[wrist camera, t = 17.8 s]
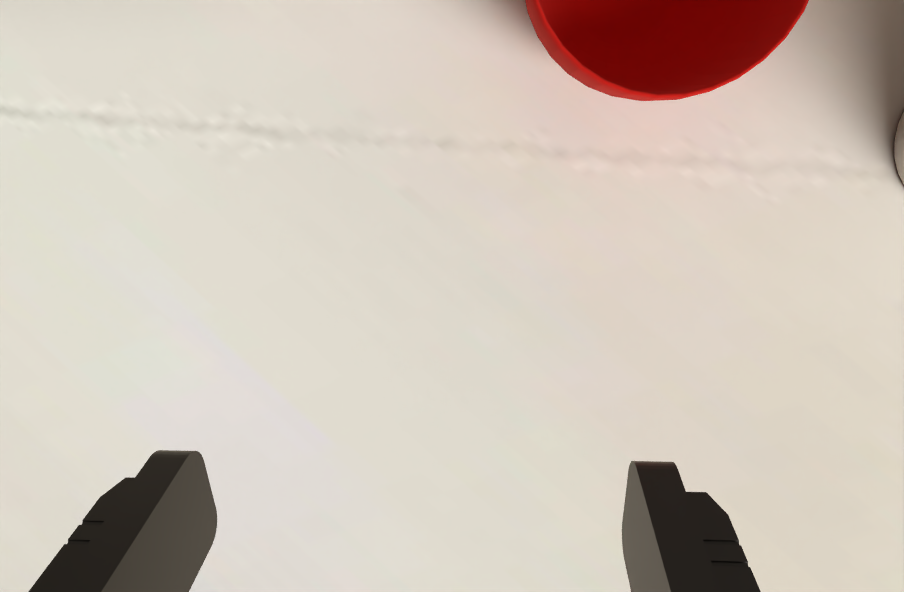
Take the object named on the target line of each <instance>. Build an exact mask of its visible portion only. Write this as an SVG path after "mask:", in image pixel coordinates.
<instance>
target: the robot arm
mask: <svg viewBox="0 0 904 592" xmlns="http://www.w3.org/2000/svg"><path fill="white" fill-rule="evenodd" d="M895 162H896V166H897V171H898V174H899V176H900V178H901V180H902V182H903V184H904V112H903V114H902V116H901V119H900V121H899V123H898V127H897V132H896V137H895ZM216 528H217V511H216V507H215V503H214V499H213V495H212V491H211V487H210V483H209V479H208V475H207V471H206V467H205V463H204V460H203V457H202V455H201V454H200V453H199V452H198V451H166V450H159V451H156V452H154V453H153V454H152V455H151V456H150V458H149V459H148V461H147V462H146V463H145V465H144V466H143V468H142V469H141V470H140V472H139V473H138V474H137V476H136V477H135V478H125V479H123V480H122V481H121V482H119V483H118V484H117V485H115V486H114V487H113V488H112V489H110V490H109V491H108V492H106V493H105V494H104V495H102V496H101V497H100V498H99V499H98V501H97V502H96V503H95V505H94V506H93V507H92V509H91V510H90V511H89V513H88V514H87V515H86V516H85V518H84V519H83V523H82V525H79V526H78V527H77V528H76V530H75V531H74V532H73V534H72V535H71V536H70V538H69V539H68V544H64V546H63V547H62V548H61V550H60V551H59V552H58V553H57V555H56V556H55V557H54V559H53V560H52V561H51V563H50V564H49V565H48V567H47V568H46V569H45V571H44V572H43V573H42V575H41V576H40V577H39V579H38V580H37V581H36V583H35V584H34V585H33V587H32V588H31V589H30V590H29V592H189V590H190V588H191V586H192V584H193V582H194V580H195V578H196V576H197V574H198V572H199V570H200V568H201V566H202V564H203V562H204V560H205V558H206V556H207V554H208V552H209V550H210V548H211V546H212V544H213V541H214V538H215V533H216ZM622 544H623V554H624V560H625V564H626V569H627V574H628V578H629V583H630V588H631V592H760V589H759V587H758V585H757V582H756V580H755V578H754V575H753V573H752V571H751V568H750V567H748V561H747V559H746V556H745V554H744V552H743V549H742V547H741V546H739V540H738V537H737V535H736V533H735V530H734V528H733V526H732V523H731V521H730V519H729V516H728V514H727V513H726V512H725V511H724V510H723V509H722V508H721V507H720V506H719V505H718V504H717V503H716V502H715V501H714V500H713V499H712V498H711V497H710V496H709V495H708V494H707V493H706V492H686V491H685V488H684V485H683V483H682V480H681V477H680V474H679V472H678V469H677V467H676V465H675V463H674V462H650V461H631V463H630V466H629V471H628V480H627V488H626V497H625V505H624V513H623V522H622Z"/></svg>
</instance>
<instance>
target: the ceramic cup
mask: <svg viewBox="0 0 904 592" xmlns="http://www.w3.org/2000/svg"><path fill="white" fill-rule="evenodd" d="M525 1H526V6H527V11H528V14H529V17H530V19H531V21H532V24H533V26H534V29H535V31H536V34H537V36H538V38H539V39H540V41H541V42H542V44H543V45H544V47H545V48H546V50H547V51H548V53H549V54H550V56H551V57H552V58H553V59H554V60H555V61H556V62H557V63H558V64H559V65H560V66H561V67H562V68H563V69H564V70H565V71H566V72H567V73H568V74H569V75H571V76H572V77H574V78H575V79H577V80H578V81H580V82H581V83H583V84H584V85H586V86H587V87H590V88H592V89H595V90H597V91H600V92H603V93H605V94H608V95H610V96H615V97H621V98H627V99H633V100H639V101H654V100H677V99H682V98H686V97H690V96H694V95H698V94H702V93H706V92H710V91H712V90H714V89H716V88H719V87H721V86H723V85H725V84H727V83H729V82H731V81H734V80H736V79H738V78H739V77H741V76H742V75H743V74H745V73H746V72H748V71H749V70H751V69H752V68H753V67H755V66H756V65H758V64H759V63H760V62H762V61H763V60H764V59H765V58H766V57H767V56H768V55H769V54H770V53H771V52H772V51H773V50H774V49H775V48H776V47H777V46H778V45H779V44H780V43H781V42H782V41H783V40H784V39H785V38H786V37H787V35H788V34H789V32H790V31H791V29H792V28H793V27H794V25H795V24H796V22H797V21H798V19H799V18H800V16H801V15H802V13H803V12H804V10H805V8H806V5H807V3H808V1H809V0H525Z"/></svg>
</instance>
